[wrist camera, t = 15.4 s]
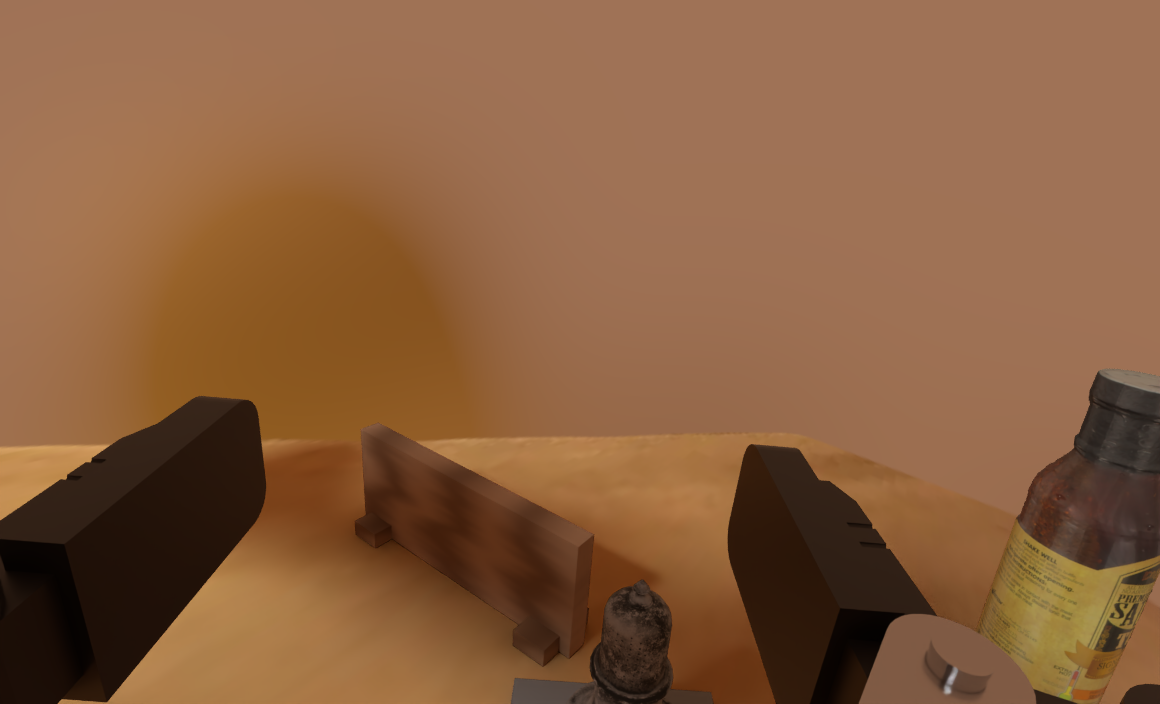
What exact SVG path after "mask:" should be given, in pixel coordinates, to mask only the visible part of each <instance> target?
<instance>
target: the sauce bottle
mask: <svg viewBox="0 0 1160 704" xmlns="http://www.w3.org/2000/svg"><path fill="white" fill-rule="evenodd" d="M1089 401H1090V406H1089V408H1088V411H1087V414H1086V416H1085V419H1084V421H1083V424H1082V426H1081V429H1080V432H1079V434H1077V435H1076V436H1075V440H1074V449H1073V450H1072V451H1070V452H1069V453H1067V454H1066V455H1064V456H1063V457H1061V458H1059V459H1057V460H1056V461H1055V462H1054V463H1051V464H1049V465H1048V466H1046V468H1044V469H1043V470H1042V471H1041V472H1039V473H1038V474H1037V476H1036V477H1035V478H1034V480H1033V481H1032V484H1031V486H1030V487H1029V490H1028V496H1027V498H1026V501H1025V503H1024V506H1023V508H1022V512H1021V514H1020V515H1018V517H1017V518H1016V520H1015V523H1014V526H1013V528H1012V531H1011V534H1010V537H1009V539H1008V542H1007V545H1006V548H1005V550H1004V553H1003V556H1002V559H1001V562H1000V564H999V567H998V570H997V573H996V575H995V578H994V581H993V584H992V586H991V589H990V592H989V595H988V598H987V600H986V603H985V606H984V609H983V612H982V615H981V618H980V620H979V623H978V625H977V628H976V631H975V632H977V633H979V634H980V635H982V636H984V637H985V638H987V639H988V640H990V641H991V642H993V643H994V644H995V645H997V646H998V647H999V648H1001V649H1002V650H1003V651H1004V652H1005V653H1006V654H1007V655H1009V656H1010V657H1011V658H1012V659H1013V660H1014V662H1015V663H1016V664H1017V665H1018V666H1019V667H1020V668H1021V670H1022V671H1023V672H1024V674H1025V675H1026V676H1027V678H1028V680H1029V681H1030V683H1031V685H1032V687H1033V689H1035V690H1038V691H1041V692H1044V693H1047V694H1050V695H1053V696H1056V697H1060V698H1063V699H1066V700H1069V701H1072V702H1075V703H1078V704H1099V702H1100V700H1101V698H1102V696H1103V694H1104V692H1105V690H1106V688H1107V685H1108V683H1109V681H1110V679H1111V677H1112V675H1113V672H1114V670H1115V668H1116V666H1117V664H1118V662H1119V660H1120V657H1121V655H1122V653H1123V651H1124V649H1125V647H1126V644H1127V642H1128V640H1129V639H1130V638H1131V634H1132V632H1133V630H1134V628H1135V625H1136V623H1137V621H1138V620H1139V617H1140V615H1141V613H1142V611H1143V609H1144V606H1145V604H1146V602H1147V599H1148V597H1149V595H1150V593H1151V592H1152V588H1153V586H1154V584H1155V581H1156V579H1157V577H1158V575H1159V573H1160V376H1156V375H1151V374H1146V373H1141V372H1135V371H1128V370H1120V369H1103V370H1100V371H1098V373H1097V375H1096V377H1095V380H1094V382H1093V385H1092V387H1091V389H1090V394H1089Z"/></svg>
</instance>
